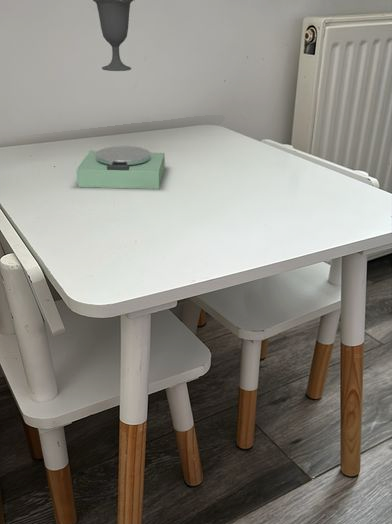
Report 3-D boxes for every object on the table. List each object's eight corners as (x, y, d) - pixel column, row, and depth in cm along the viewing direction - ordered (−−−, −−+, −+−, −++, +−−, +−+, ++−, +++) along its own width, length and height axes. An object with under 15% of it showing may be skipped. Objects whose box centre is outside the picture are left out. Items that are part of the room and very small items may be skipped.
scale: (78, 187, 96) (75, 165, 94) (91, 166, 106) (89, 147, 104) (159, 189, 96) (158, 168, 94) (164, 168, 106) (164, 149, 104)
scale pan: (91, 164, 96) (90, 159, 95) (101, 149, 104) (100, 145, 103) (147, 166, 96) (146, 161, 95) (152, 151, 103) (152, 146, 103)
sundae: (140, 67, 96) (137, -39, 88) (130, 72, 91) (126, -40, 82) (103, 65, 97) (97, -40, 89) (91, 70, 91) (83, -41, 83)
